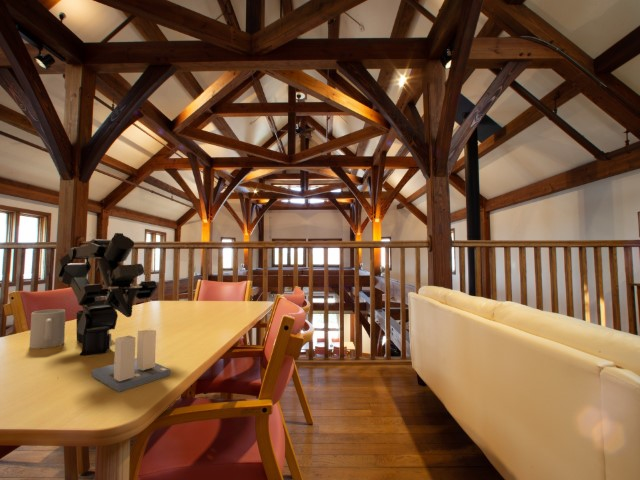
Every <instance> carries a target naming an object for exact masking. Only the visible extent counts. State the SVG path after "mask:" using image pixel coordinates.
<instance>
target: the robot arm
mask: <svg viewBox="0 0 640 480" xmlns="http://www.w3.org/2000/svg"><path fill="white" fill-rule="evenodd" d="M134 246H135V242H134V240H133V239H131V238H130V237H128V236H126V235H124V233H123V232H122V233H120V232H115V233H114V234H113V236H112V238H111V239H102V238H101V239H99V238H95V239H90V240H89V241H88V242H87V244H86V245H82V246H76V247H75V246H74V247H70V248H69V250H68V253H66V254H65V255H64V256H63V257H61V258H60V259H59V260H58V263H57V265H56V269H55V276H56V278H57V279H58V280H59V282H61V283H62V284H64V285H67V286H70V287H71V290H72V291H73V293H74V295H75V297H76V300H77V305H78V306H81V307H82V309H83V310H84V311H83V314H82V316H81V318H80V320H79V322H78V324H77V323H76V334H77V333H79V334H82V343H81V351H80V353H79V356H85V355H86V356H87V355H96V354H105V353H107V352H108V350H109V349H110V348H111V347H112V333H110V330H111V331H112V330H115V328H116V326H117V321H118V312H119V313H120V314H122V315H123V316H124V317H126V318H131V317H132V315H133V303H134V300H135V298H136V299H139V300H145V299H150V298H152V296H153V295H154V294H155V292H156V290H157V289H158V287H159V286H158V284H157V282H156V281H155V280H143V281H142V280H141V281H140V283H139V285H133V284H134V283H135V280H134V279H136V278H137V277H141V276H142V275H143V274H144V273H145V269H144V268H145V267H144V266H143V264H142V263H135V264H123V263H122V262H125V261H127V259H128V257H129V255H130V254H131V252H132V250H133V248H134ZM89 259H98V260H97V262H96V263H97V265H96V271H97V272H100V274H101V275H100V276H101V278H102V279H101V283H93V284H92V283H91V282H90V280H89V279H88V275H89V273H90V270H91V268H92V265H91V263H90V260H89ZM73 260H85V262H77V263H74V262H73ZM72 262H73V263H72ZM103 285H104V287H105V288H103ZM100 298H105V299H100Z"/></svg>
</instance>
